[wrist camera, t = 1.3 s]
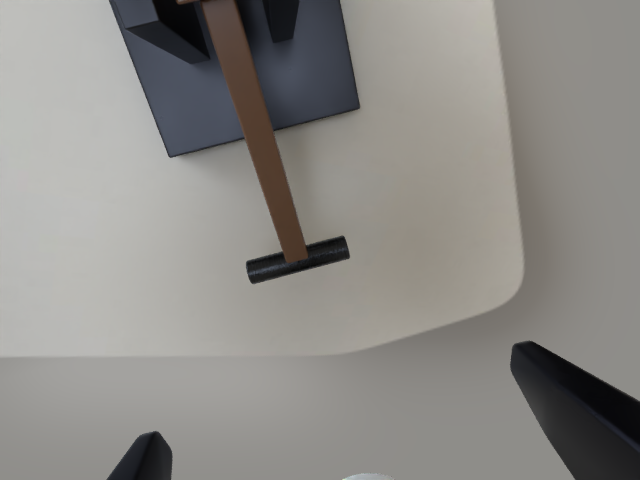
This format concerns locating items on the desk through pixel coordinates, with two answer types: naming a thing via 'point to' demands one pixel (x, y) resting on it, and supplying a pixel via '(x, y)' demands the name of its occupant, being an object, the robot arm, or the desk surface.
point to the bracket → (207, 76)
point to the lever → (263, 149)
